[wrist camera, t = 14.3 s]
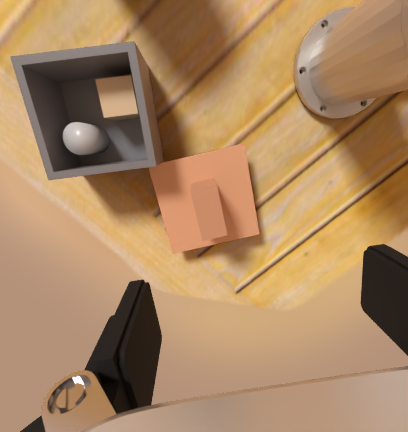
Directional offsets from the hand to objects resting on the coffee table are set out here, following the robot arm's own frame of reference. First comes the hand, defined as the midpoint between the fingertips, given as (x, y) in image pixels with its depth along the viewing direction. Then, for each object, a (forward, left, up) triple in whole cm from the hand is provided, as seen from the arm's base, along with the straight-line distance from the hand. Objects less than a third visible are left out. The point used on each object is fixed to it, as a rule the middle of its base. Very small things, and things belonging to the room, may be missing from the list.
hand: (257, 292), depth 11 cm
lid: (+1, +2, -24) cm, 24 cm away
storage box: (+12, -10, -27) cm, 31 cm away
